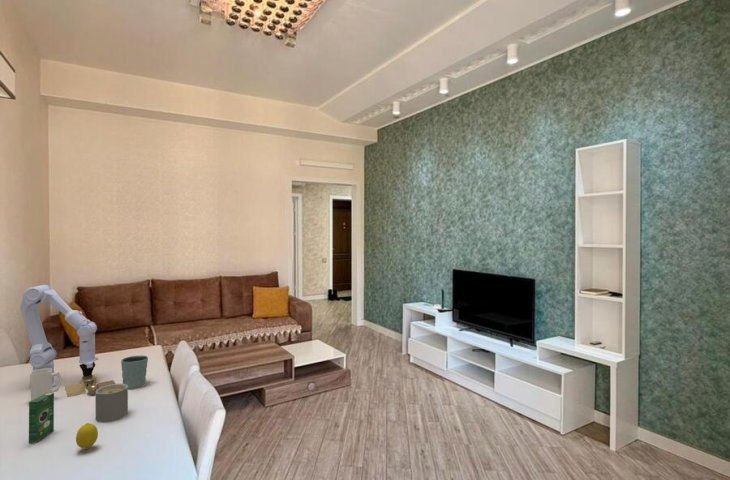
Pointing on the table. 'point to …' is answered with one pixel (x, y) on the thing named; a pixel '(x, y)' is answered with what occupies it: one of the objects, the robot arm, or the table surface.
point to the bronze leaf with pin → (97, 386)
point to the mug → (43, 382)
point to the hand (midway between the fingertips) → (87, 379)
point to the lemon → (86, 436)
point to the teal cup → (134, 371)
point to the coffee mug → (111, 402)
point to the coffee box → (41, 417)
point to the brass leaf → (79, 386)
